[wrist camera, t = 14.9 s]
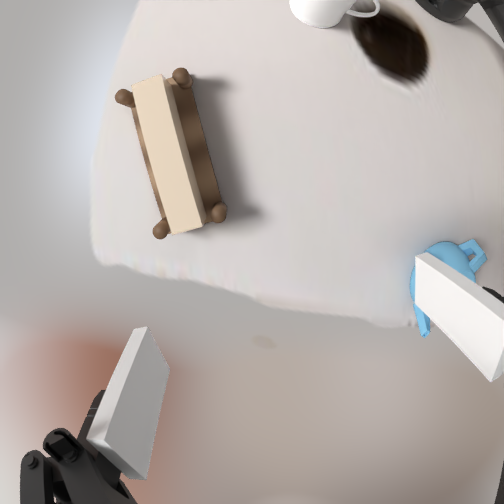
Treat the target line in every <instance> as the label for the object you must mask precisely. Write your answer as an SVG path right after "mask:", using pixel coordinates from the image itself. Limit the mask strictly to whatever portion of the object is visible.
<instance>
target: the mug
mask: <svg viewBox="0 0 504 504" xmlns="http://www.w3.org/2000/svg"><path fill="white" fill-rule="evenodd" d="M356 1H357V0H290V7H291V10H292V12H293V13H294V15H295V16H296V17H297V18H298V19H299V20H301V21H302V22H304V23H305V24H308V25H310V26H313V27H317V28H329V27H332V26H335V25H336V24H338V23H339V22H340V20H341V19H342V16H343V15H344V14H345V13H347V14H350V15H353V16H358V17H371V16H374V15H376V14H377V13H378V12H379V10H380V3H379V1H378V0H372V1H373V2H374V3H375V5H376V10H375V11H374V12H371V13H361V12H357V11H353V10H351V9H350V7H351V6H352V5H353V4H354V3H355V2H356Z"/></svg>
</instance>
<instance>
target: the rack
mask: <svg viewBox="0 0 504 504" xmlns="http://www.w3.org/2000/svg"><path fill="white" fill-rule="evenodd" d="M167 81H168V82H169V83H170V84H171V86H172V90H173V94H174V98H175V102H176V106H177V110H178V114H179V118H180V121H181V125H182V129H183V133H184V137H185V140H186V144H187V148H188V151H189V155H190V159H191V162H192V166H193V170H194V173H195V177H196V180H197V184H198V188H199V191H200V195H201V198H202V202H203V205H204V208H205V212H206V215H207V217H206V219H205V222H204V224H205V223H209V222H212V221H213V222H215V223H221V222H223V221H224V220H225V218H226V212H227V207H226V205H225V204H224V203H223V202H222V200H221V196H220V192H219V189H218V185H217V182H216V178H215V174H214V171H213V167H212V163H211V160H210V156H209V152H208V149H207V145H206V141H205V137H204V134H203V130H202V126H201V122H200V119H199V115H198V111H197V107H196V103H195V100H194V96H193V92H192V88H191V86H192V84H193V80H192V78H191V76H190V75H189V73H188V71H187V70H186V69H185V68H177V69H176V70H175V71H174V72H173V75H172V78H168V79H167ZM115 100H116V102H118V103H120V104H122V105H125V106H128V107H130V108H131V109H132V114H133V118H134V122H135V126H136V130H137V134H138V138H139V142H140V145H141V149H142V153H143V156H144V160H145V164H146V167H147V171H148V174H149V178H150V181H151V184H152V188H153V191H154V194H155V198H156V201H157V204H158V207H159V211H160V214H161V217H162V220H161V221H160V222H159V223H158V224H157V225H156V226H155V227H154V228H153V235H154V236H155V237H156V238H157V239H163V238H165V237H166V236H167V234H170V233H171V230H170V227H169V223H168V220H167V217H166V214H165V211H164V208H163V204H162V201H161V198H160V195H159V191H158V188H157V184H156V181H155V178H154V174H153V171H152V167H151V163H150V160H149V156H148V153H147V149H146V145H145V141H144V137H143V134H142V130H141V126H140V122H139V118H138V113H137V109H136V105H135V101H134V96H133V92H130V91H128V90H126V89H121V90H119V91H118V92H117V93H116V95H115Z"/></svg>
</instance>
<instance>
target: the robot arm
mask: <svg viewBox="0 0 504 504" xmlns="http://www.w3.org/2000/svg"><path fill="white" fill-rule="evenodd" d="M416 1H417V2H418V3H419V4H420V5H421V6H422V7H423V8H424V9H425V10H426V11H427V12H429V13H430V14H432V15H433V16H435V17H436V18H438V19H440V20H443V21H446V22H455V21H457V20H460V19H462V18H463V17H464V16H465V14H466V13H467V12H468V10H469V9H470V8H471V7H472V6H473V4H475V3H477V2H479V3H480V5H481V6H482V7H483V9H484V11H485V12H486V14H487V15H488V17H489V18H490V20H491V21H492V23H493V25H494V26H495V28H496V30H497V31H498V33H499V35H500V36H501V38H502V40H503V42H504V0H416ZM415 304H416V305H417V306H418V307H419V308H420V309H421V310H422V311H423V312H424V313H425V314H426V315H427V316H428V317H429V318H430V319H431V320H432V321H433V322H434V323H435V324H436V325H437V326H438V327H439V328H440V329H441V330H442V331H443V332H444V333H445V334H446V335H447V336H448V337H449V338H450V339H451V340H452V341H453V342H454V343H455V344H456V345H457V346H458V347H459V349H460V350H461V351H462V352H463V353H464V354H465V355H466V356H467V357H468V358H469V359H470V360H471V361H472V362H473V363H474V365H475V366H476V367H477V368H478V369H479V370H480V371H481V372H482V373H483V375H485V377H486V378H487V379H488V380H489V381H490V382H492V381H494V380H495V379H496V378H498V377H499V376H500V375H502V374H503V372H504V297H501V295H500V294H498V293H497V292H496V291H494V290H492V289H489V288H486V287H482V288H481V287H480V286H479V285H477V284H476V283H474V282H473V281H471V280H470V279H468V278H467V277H465V276H464V275H462V274H461V273H459V272H458V271H456V270H455V269H453V268H452V267H450V266H449V265H447V264H445V263H444V262H442V261H441V260H439V259H438V258H436V257H434V256H433V255H431V254H430V253H428V252H426V253H423V254H420V255H417V256H415ZM169 371H170V368H169V366H168V364H167V363H166V361H165V359H164V357H163V355H162V353H161V352H160V350H159V348H158V346H157V344H156V342H155V340H154V338H153V336H152V334H151V332H150V330H149V328H148V326H147V327H142V328H137V329H134V330H133V333H132V335H131V337H130V339H129V341H128V343H127V345H126V347H125V349H124V351H123V353H122V356H121V358H120V360H119V362H118V364H117V367H116V369H115V371H114V373H113V375H112V378H111V380H110V382H109V384H108V387H107V389H106V390H101V391H100V392H99V394H98V395H97V396H96V397H95V398H94V400H93V402H92V405H91V407H90V410H89V411H88V414H87V417H86V418H85V421H84V423H83V425H82V428H81V430H80V433H79V435H78V438H77V439H76V438H75V437H74V436H73V435H72V434H71V433H70V432H69V431H68V430H66V429H64V428H58V429H55V430H53V431H51V432H50V433H49V434H48V435H47V436H46V438H45V439H44V442H43V449H44V450H45V451H46V452H47V453H48V454H49V455H50V456H51V457H47V458H46V457H45V456H44V455H43V454H42V453H41V452H40V451H37V450H32V451H30V452H28V453H27V454H26V455H25V456H24V457H23V459H22V462H21V474H20V504H137V503H136V501H135V499H134V498H133V497H132V495H131V493H130V492H129V490H128V489H127V487H126V486H125V484H124V483H123V482H122V481H121V480H120V479H119V478H120V474H121V472H122V473H123V474H124V475H125V476H127V477H128V478H129V479H139V480H146V479H147V474H148V469H149V463H150V458H151V453H152V448H153V443H154V438H155V433H156V428H157V424H158V419H159V414H160V410H161V405H162V401H163V396H164V392H165V388H166V383H167V379H168V375H169ZM54 497H56V503H55V502H54ZM495 504H504V463H503V468H502V474H501V479H500V483H499V488H498V492H497V496H496V500H495Z"/></svg>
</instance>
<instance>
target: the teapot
mask: <svg viewBox="0 0 504 504" xmlns="http://www.w3.org/2000/svg"><path fill="white" fill-rule="evenodd" d="M426 252H428V253H430V254H431V255H433V256H434V257H436V258H438V259H439V260H441V261H442V262H444V263H445V264H447V265H449V266H450V267H452V268H453V269H455V270H456V271H458V272H459V273H461V274H462V275H464V276H465V277H467V278H468V279H470V280H471V281H473V282H474V283H476V280H475V274H474V273H475V272H476V271H477V270H478V269H479V267H480V266H481V265H482V264H483V263H484V262H485V261H486V260H487V257H486V255H485V253H484V252H483V250H482V249H481V248H480V247H479V245H478V244H477V243H476V241H475V240H474V239H472V240H470V241H467V242H465V243H463V244H460V245H458V246H457V245H455V244H454V243H451V242H439V243H436V244H434V245H433V246H431V247H430V248H428V249H427V250H426V251H425V252H424V253H426ZM471 254H474V255H475V256H476V257H474V258H473V259H472V260H471V261H470V260H469V259H468V257H467V256H469V255H471ZM410 293H411V297H412V299H413V301H414V304H413V307H414V310H415V314H416V318H417V321H418V325H419V329H420V333H421V336H422V337H424V338H425V337H426V336H427V335H428V334H429V333H430V318H429V317H428V316H427V315H426V314H425V313H424V312H423V311H422V310H421V309H420V308H419V307H418V306H417V305H416V304H415V266H414V268H413V271H412V275H411V279H410Z"/></svg>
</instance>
